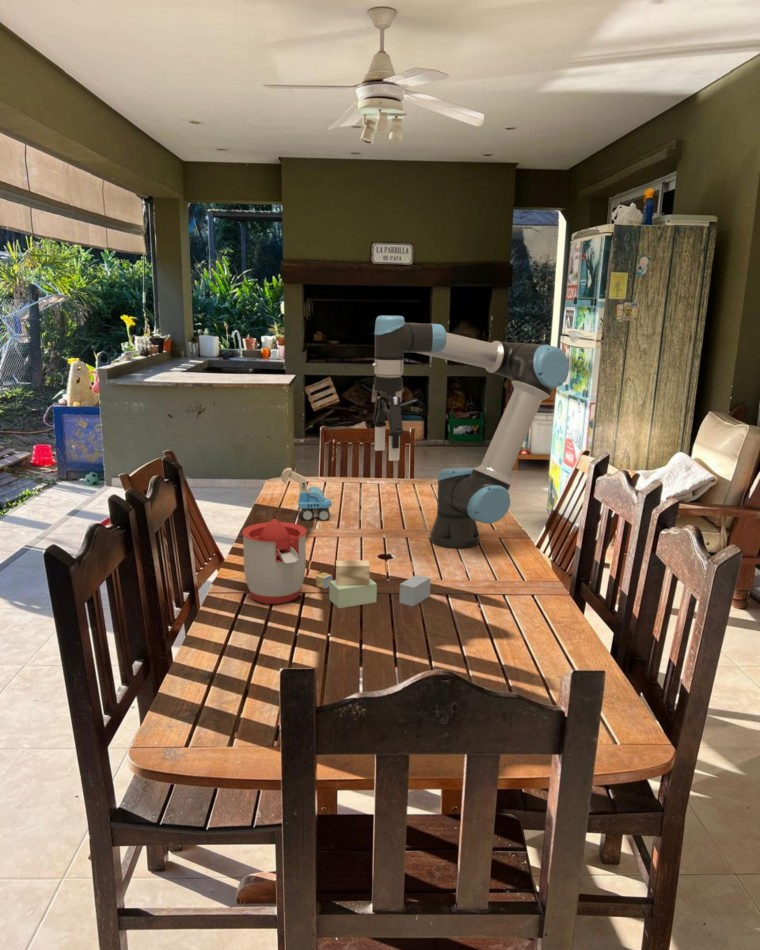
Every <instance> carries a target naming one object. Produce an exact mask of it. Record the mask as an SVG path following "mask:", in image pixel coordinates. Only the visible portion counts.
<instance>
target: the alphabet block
mask: <svg viewBox="0 0 760 950" xmlns="http://www.w3.org/2000/svg"><path fill="white" fill-rule="evenodd" d="M330 581H333V575H332V574H329V573H327V572H321V573H319V574H316V576H315V585H316V586H315V587H318V588H322V589H328V588H329V587H330Z"/></svg>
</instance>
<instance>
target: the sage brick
mask: <svg viewBox="0 0 760 950" xmlns="http://www.w3.org/2000/svg"><path fill="white" fill-rule="evenodd" d="M328 588H329V591H328V592H329V593H328V594H329V599H328V600H329V601H330V602H331V603H333V604H334V606H335V607H336V608H338V609H342V608H344V609H345V608H348V607H355V606H362V605H368V604H374V603H377V592H378V591H377V590H378V589H377V588H378V584H377V583H376V582H375V581H374V580H373V579H371V577H369V586H336V579H333V580H332V581H330V587H328Z"/></svg>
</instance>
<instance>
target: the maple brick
mask: <svg viewBox="0 0 760 950" xmlns="http://www.w3.org/2000/svg"><path fill="white" fill-rule="evenodd" d="M370 566H371V565H370V560H360V559H358V560H335V580H336V586H369V578H370V570H371V569H370Z"/></svg>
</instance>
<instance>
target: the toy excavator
mask: <svg viewBox="0 0 760 950" xmlns="http://www.w3.org/2000/svg"><path fill="white" fill-rule="evenodd" d="M289 478H290V479H292V480H294V481H295V482H297V483H298V485H299V494H298V495H299V496H298V504H297V505H298V509H300V510H301V512H300V513H301V518H302V520H304V521H306V522H309V521H311V520H313V518H318V520H320V521H323V522H327V520H329V519H330V516H331V513H330V508H331V507H332V499H330V498H328V497H325V494H324V492H323V490H322V489H321V488H319V487H317V486H310V487H309V488H308V484H307V480H306V479H307V478H306V477H305V476H304V475H301V474H299V473H297V472H295V471H293V470H292V467H286V468H284V469H283V471H282V473H281V481H282V483H284V484H287V482H288V480H289Z"/></svg>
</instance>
